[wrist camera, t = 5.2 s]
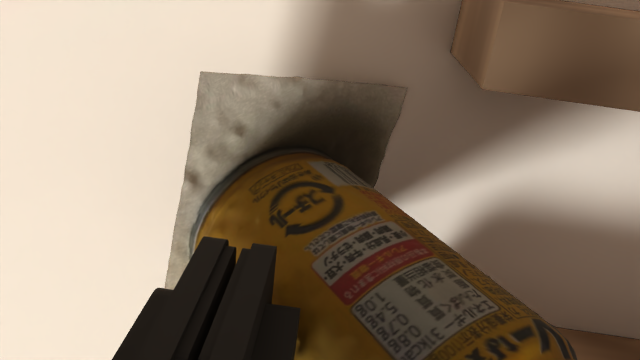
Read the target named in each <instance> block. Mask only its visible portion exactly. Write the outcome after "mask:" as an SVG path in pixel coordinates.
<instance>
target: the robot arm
mask: <svg viewBox="0 0 640 360" xmlns="http://www.w3.org/2000/svg"><path fill="white" fill-rule="evenodd" d="M276 254H277V246H271V245H264V244H257V243H253V244H252V246H251V249H247V248H242V250H241V253H240V255H239V258H238V260H237V263H236V247H233V246H229V241H228V239H221V238H214V237H207V236H203V238H202V239H201V241H200V243H199V245H198V246H197V248H196V250H195V252H194V254H193V255H192V257H191V259H190V261H189V263H188V264H187V266H186V268H185V270H184V272H183V274H182V275H181V277H180V279H179V281H178V283H177V284H176V286H175V288H174V290H171V289H164V288H157V289H155V291H154V292H153V293H152V295H151V296H150V298H149V300H148V301H147V303H146V305H145V306H144V308H143V309H142V311H141V313H140V314H139V316H138V318H137V319H136V321H135V323H134V324H133V326H132V328H131V329H130V331H129V332H128V334H127V336H126V337H125V339H124V341H123V342H122V344H121V346H120V347H119V349H118V350H117V352H116V354H115V355H114V357H113V359H112V360H294V356H295V349H296V342H297V334H298V326H299V318H300V308H297V307H290V306H283V305H276V304H272V295H273V285H274V275H275V264H276Z"/></svg>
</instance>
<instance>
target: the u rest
mask: <svg viewBox="0 0 640 360" xmlns="http://www.w3.org/2000/svg"><path fill="white" fill-rule="evenodd" d="M451 53H452V55H453V56H454V57H455V58H456V59H457V60H458V62H459V63H460V64H461V65H462V66H463V67H464V69H465V70H466V71H467V72H468V73H469V74H470V76H471V77H472V78H473V79H474V80H475V81H476V83H477V84H478V85H479V86H480V87H481V88H482V89H483V90H491V91H498V92H505V93H512V94H519V95H526V96H533V97H540V98H547V99H554V100H561V101H568V102H575V103H582V104H589V105H597V106H604V107H611V108H618V109H625V110H632V111H639V112H640V11H632V10H625V9H618V8H611V7H603V6H596V5H589V4H582V3H574V2H567V1H560V0H462V3H461V8H460V12H459V17H458V21H457V26H456V30H455V35H454V39H453V44H452V48H451ZM555 328H556V329H557V330H558V331H559V332H560V333H561V334H562V335H563V336H564V337H565V338H566V339H567V340H568V341H569V342H570V344H571V346H572V347H573V348H574V351H575V353H576V357H577V360H640V340H637V339H631V338H624V337H617V336H610V335H604V334H597V333H590V332H584V331H577V330H570V329H564V328H557V327H555Z"/></svg>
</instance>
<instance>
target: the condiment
mask: <svg viewBox="0 0 640 360" xmlns="http://www.w3.org/2000/svg"><path fill="white" fill-rule="evenodd" d="M406 92H407V88H405V87H396V86H387V85H380V84H368V83H351V82H346V81H332V80H318V79H305V78H301V77H272V76H262V75H251V74H228V73H214V72H200V78H199V84H198V90H197V101H196V107H195V112H194V117H193V120H192V127H191V139H190V147H189V151H188V155H187V162H186V166H185V175H184V183H183V185H182V190H181V197H180V202H179V207H178V211H177V216H176V221H175V226H174V233H173V240H172V246H171V253H170V258H169V265H168V271H167V276H166V282H165V289H171V290H174V288H175V286H176V284H177V283H178V281H179V279H180V277H181V275H182V274H183V272H184V270H185V268H186V266H187V264H188V263H189V261H190V259H191V257H192V255H193V254H194V252H195V250H196V248H197V246H198V245H199V243H200V241H201V239H202V238H203V236H207V237H214V238H221V239H228V241H229V246H233V247H236V263H237V260H238V258H239V255H240V253H241V250H242V248H247V249H251V246H252V244H253V243H257V244H264V245H271V246H277V254H276V264H275V275H274V285H273V295H272V304H276V305H283V306H290V307H297V308H300V318H299V326H298V334H297V342H296V349H295V356H294V360H577V357H576V353H575V351H574V348H573V347H572V346H571V344H570V342H569V341H568V340H567V339H566V338H565V337H564V336H563V335H562V334H561V333H560V332H559V331H558V330H557V329H556V328H555V327H554V326H552V325H551V324H549V323H547V322H546V321H545V320H544V319H542V318H541V317H540V316H539V315H538V314H537V313H535V312H534V311H532V310H531V309H529V308H528V307H527V306H526V305H524V304H523V303H522V302H521V301H519V300H518V299H517V298H515V297H514V296H513V295H511V294H510V293H509V292H507V291H506V290H505V289H503V288H502V287H501V286H499V285H498V284H497V283H495V282H494V281H493V280H492V279H491V278H490V277H489V276H487V275H485V274H484V273H483V272H481V271H480V270H479V269H477V268H476V267H475V266H473V265H472V264H471V263H469V262H468V261H467V260H465V259H464V258H463V257H462V256H461V255H460V254H458V253H457V252H455V251H454V250H453V249H451V248H450V247H449V246H448V245H446V244H445V243H444V242H442V241H441V240H439V239H438V238H437V237H436V236H435V235H433V234H432V233H431V232H429V231H428V230H427V229H426V228H425V227H423V226H422V225H421V224H419V223H418V222H417V221H415V220H414V219H413V218H412V217H410V216H409V215H407V214H406V213H405V212H404V211H402V210H401V209H400V208H398V207H397V206H396V205H394V204H393V203H392V202H391V201H389V200H388V199H387V198H386V197H384V196H383V195H382V194H380V193H379V192H378V191H376V190H375V189H374V188H373V187H374V186H375V184H376V181H377V179H378V174H379V169H380V165H381V162H382V160H383V158H384V155H385V150H386V146H387V144H388V141H389V138H390V135H391V132H392V130H393V128H394V126H395V124H396V122H397V119H398V117H399V115H400V111H401V107H402V104H403V101H404V98H405V95H406Z"/></svg>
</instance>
